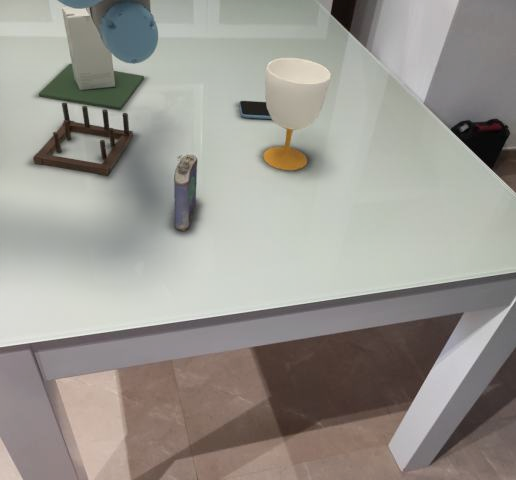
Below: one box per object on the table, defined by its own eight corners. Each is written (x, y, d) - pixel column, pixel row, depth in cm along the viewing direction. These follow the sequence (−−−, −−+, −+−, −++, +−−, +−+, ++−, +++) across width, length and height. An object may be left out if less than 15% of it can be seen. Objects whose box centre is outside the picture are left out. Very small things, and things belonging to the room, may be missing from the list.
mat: (39, 96, 111) (38, 93, 110) (70, 66, 123) (70, 63, 122) (120, 110, 111) (120, 107, 110) (144, 78, 123) (143, 75, 122)
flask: (187, 232, 85) (188, 173, 77) (170, 229, 85) (168, 170, 77) (197, 202, 91) (199, 144, 83) (181, 199, 91) (181, 141, 83)
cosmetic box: (109, 77, 119) (101, 4, 108) (116, 88, 116) (109, 13, 105) (72, 80, 116) (60, 4, 105) (78, 91, 113) (67, 14, 102)
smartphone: (238, 99, 118) (302, 103, 120) (238, 103, 119) (301, 107, 121) (241, 114, 113) (307, 117, 116) (241, 118, 114) (306, 121, 116)
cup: (287, 180, 99) (302, 89, 86) (244, 155, 103) (252, 65, 91) (325, 162, 105) (344, 75, 92) (283, 139, 110) (295, 53, 97)
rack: (107, 175, 93) (104, 150, 89) (34, 163, 93) (27, 137, 90) (133, 135, 104) (131, 111, 100) (67, 124, 104) (63, 99, 100)
